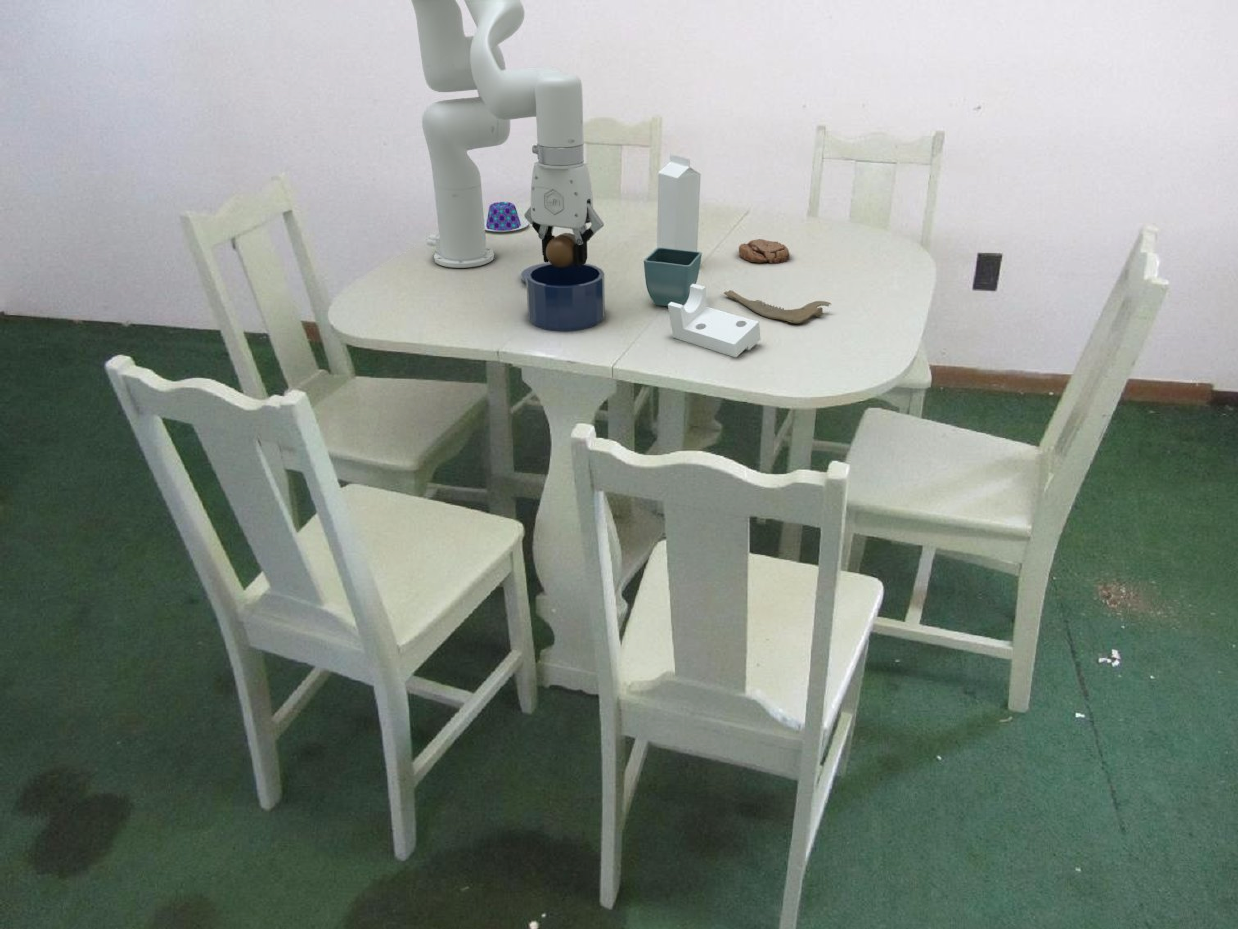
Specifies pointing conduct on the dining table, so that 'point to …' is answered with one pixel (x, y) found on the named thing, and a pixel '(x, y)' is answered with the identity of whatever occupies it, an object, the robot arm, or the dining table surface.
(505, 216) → the pudding
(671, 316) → the bracket
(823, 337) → the dining table surface
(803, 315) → the jawbone
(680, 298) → the flower pot
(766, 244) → the cookie
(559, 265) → the kiwi
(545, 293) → the crock
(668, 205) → the milk
